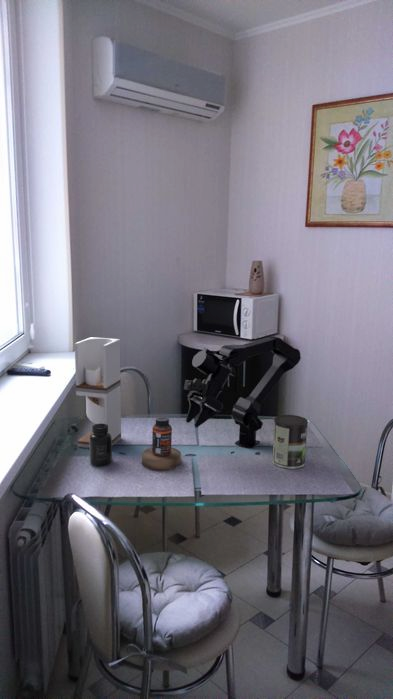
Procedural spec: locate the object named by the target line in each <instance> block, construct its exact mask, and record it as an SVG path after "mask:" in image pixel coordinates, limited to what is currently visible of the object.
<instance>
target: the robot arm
mask: <svg viewBox="0 0 393 699" xmlns="http://www.w3.org/2000/svg"><path fill="white" fill-rule="evenodd" d="M270 351H271V352H272V353H273V354H274V355H273V356H272V365H271V366H270V367H269V369H267V371H266V372H265V374H264V375H263V377H262V378H261V379H260V381H259V382H258V384H256V386H255V387H254V389H253V390H252V392H251V393H250V394H249V395H248V396H247V397H245V398H244V397H242V396H240V397H239V398H238V400H237V401H236V403H234V404H233V408H232V410H231V416H232V419H233V420H234V423H235V425H238V426H239V431H238V432H239V434H238V440H237V441H235V442H234V444H235V445H237V446H238V445H239V446H242V447H245V448H248V449H249V448H250V449H253V448H254V447H256V446H257V445H259V444H261V441H260V440H257V431H259V430H261V429H262V427H263V424H264V423H263V421H262V420H261V419H260V418H259V415H260V414H261V405H262V404H263V403H264V401H265V400H266V399H267V397H268V395H270V394H271V391H272V390H273V389H274V387H275V386H276V385H277V384H278V383H279V381H280V379H281V378H282V377H283V376H284V374H285V373H287V372H289V371H290V370H292V369H294V368H295V367H296V366H297V365H298V364H299V362H300V361H301V359H302V358H301V351H300V350H299V349H298V348H295V347H293V346H291V345H290V344H288V343H287V342H286V341H285V340H283V339H282V338H281V337H279V336H275V335H269V336H267V337H265V338H262V339H257V340H253V341H251V342H246V343H244V344H224V345H223V346H221V347H220V349H219V350H216V351H215V352H212V351H211V350H209V349H208V348H205V347H204V348H202V350H200V351H198V352H197V353H196V354H194V355H193V358H192V362H191V364H192V366H193V367H194V368H196V369H197V370H199V371H200V372H201V373H203V374H204V375H206V376H207V378H206V379H205V378H204V379H203V380H201V379H198V378H194V379H193V380H188V379H185V381H184V386H183V390H186V391H189V393H188V394H187V395H186V396H187V401H188V404H189V408H188V412H187V415H186V419H185V422H186V423H188V424H189V423H190V422H192V421H193V420H194V419H195V418H196V417H197V418H196V420H195V423H194V426H195V427H196V428H198V427H200V426H202V425H203V424H204V423H205V422H207V421H208V420H209V419H211V418H213V417H215V415H217V414H219V413H221V412H222V410H223V408H224V405H223V402H222V401H220V400H218V399H217V398H218V397H219V395H220V393H223V392H224V390H225V389H224V386H225V384H226V382H227V381H228V379H229V377H230V375H231V376H233V377H236V376H237V374H236V371H235V370H236V369H235V367H236V366H237V367H238V366H239V365H241V364H242V363H245V362H246V361H247V359H248V358H249V359H250V358H251V357H254V356H257V355H261V354H264V353H267V352H270ZM228 365H230V366H228Z"/></svg>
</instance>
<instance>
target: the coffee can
mask: <svg viewBox="0 0 393 699" xmlns="http://www.w3.org/2000/svg"><path fill="white" fill-rule="evenodd" d="M273 423H274V426H273V427H274V429H273V444H272V445H273V450H272V460H271V461H272V463H273V465H274V466H277V467H279V468H283V469H288V470H297V469H301V468H303V467H305V465H306V450H307V434H308V425H309V424H308V423H309V421H308V419H307V418H305V417H302V416H299V415H294V414H282V415H277V416H275V417H274V418H273Z"/></svg>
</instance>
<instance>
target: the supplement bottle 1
mask: <svg viewBox="0 0 393 699" xmlns="http://www.w3.org/2000/svg"><path fill="white" fill-rule="evenodd" d="M89 447H90V448H89V463H90V465H91V466H94V467H100V468H101V467H106V466H109V465H111V464H112V461H113V446H112V436H111V434H110V433H108V425H107V424H93V425H92V434H91V435H90V437H89Z"/></svg>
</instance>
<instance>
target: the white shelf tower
mask: <svg viewBox="0 0 393 699" xmlns="http://www.w3.org/2000/svg"><path fill="white" fill-rule="evenodd" d="M74 360H75V362H74V364H75V390H76V391H75V395H76V396H81V397H82V396H83V397H85V405H86V408H85V411H86V414H85V415H86V416H87V419H89V421H90V422H92V423H93V425H95V424H107V425H108V433H110V434H111V436H112V447H113V446H114V445H115V444H116V443H118V442H119V441H120V440H121V439H122V402H121V401H122V399H121V398H122V397H121V396H122V395H121V393H122V392H121V390H122V388H121V386H122V385H121V381H122V380H121V377H122V376H121V339H120V338H110V337H107V338H106V337H96V336H95V337H92V336H91V337H88V338H85V339H82V340H79V341H77V342H75V343H74ZM91 434H92V430H90V431H89V432H88V433H86V434H85V435H84V436H82V437H80V438H79V439H78V440H77V448H78V447H79V448H86V449H90V447H89V437H90V435H91Z"/></svg>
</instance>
